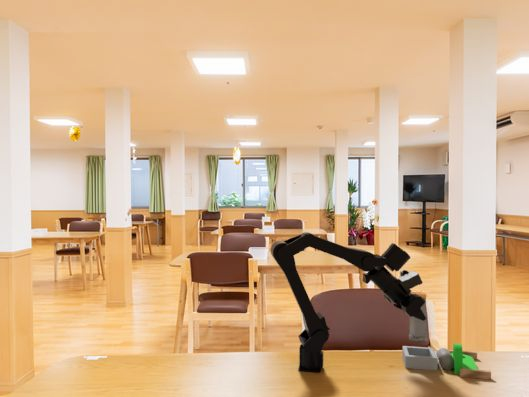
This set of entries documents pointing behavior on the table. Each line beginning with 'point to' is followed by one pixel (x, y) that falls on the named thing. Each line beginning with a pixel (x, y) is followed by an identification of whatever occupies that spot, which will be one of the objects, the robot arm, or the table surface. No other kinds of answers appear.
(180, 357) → the table surface
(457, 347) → the mechanical part
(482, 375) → the bay rails
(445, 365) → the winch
